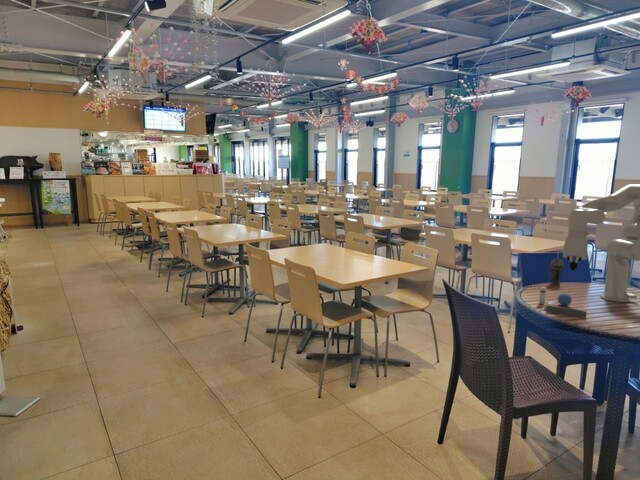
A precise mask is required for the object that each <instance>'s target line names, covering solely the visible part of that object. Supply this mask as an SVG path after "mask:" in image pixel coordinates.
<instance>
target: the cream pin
mask: <svg viewBox="0 0 640 480" xmlns="http://www.w3.org/2000/svg"><path fill="white" fill-rule="evenodd" d="M547 305H554V306H556V302H555V301H553V300H552V301H549V302H547V303H546V304H544V305H543V308H544V309H545V310H547Z"/></svg>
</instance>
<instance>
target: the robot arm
mask: <svg viewBox="0 0 640 480" xmlns="http://www.w3.org/2000/svg"><path fill="white" fill-rule="evenodd" d="M631 203H633V209H634V212H633V215H632V216H631V218H630V219H629V221H628V222H627V224H625V226H624V228H623V229H622V231H621V234H620V235H621V237H622V239H621V238H619V239H618V238H616V239H612V240H610V241H609V242H608V243H607V247H606V254H607V267H606V274H605V275H606V276H605V283H604V284H605V285H604V293H601V294H600V295H599V297H600V298H601V299H603V300H606V301H610V302H611V301H612V302H617V303H626V302H630V299H635V300H637V299H638V295H637V294H634V293H633V294H632V293H629V292H628V282H629V275H630V263H629V261H634V262H639V261H640V184H637V183H636V184H634V183H633V184H626V185H624V186H623V187H621V188H619V189H617V190H616V191H615V192H612V193H611V194H609V195H607V196H603V197H600V198H597V199H594V200H590V201H588V202H585V203H584V204H581V206H579V207H577V208H573V209H571V210H570V212H569V213H570V214H569V221H568V231H567V235H566V236H565V240H564V243H563V244H564V245H563V250H562V253H563V254H562V258H565V259H567V260H568V261H569V262H570V263H569V269H570V270H571V271H575V270H577V269H578V263H579V262H581V261H583V260H584V261H585V260H587V259H588V255H587V254H588V247H589V245H588V237H587V236H590V232H588V231H587V225H588V224H590V225H600V224H601V223H603V222H604V221H605V219H606V214H605V213H611V212H616V211H619V210H621V209H623V208H625V207H626V206H627V205H629V204H631ZM574 257H575V260H574Z"/></svg>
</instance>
